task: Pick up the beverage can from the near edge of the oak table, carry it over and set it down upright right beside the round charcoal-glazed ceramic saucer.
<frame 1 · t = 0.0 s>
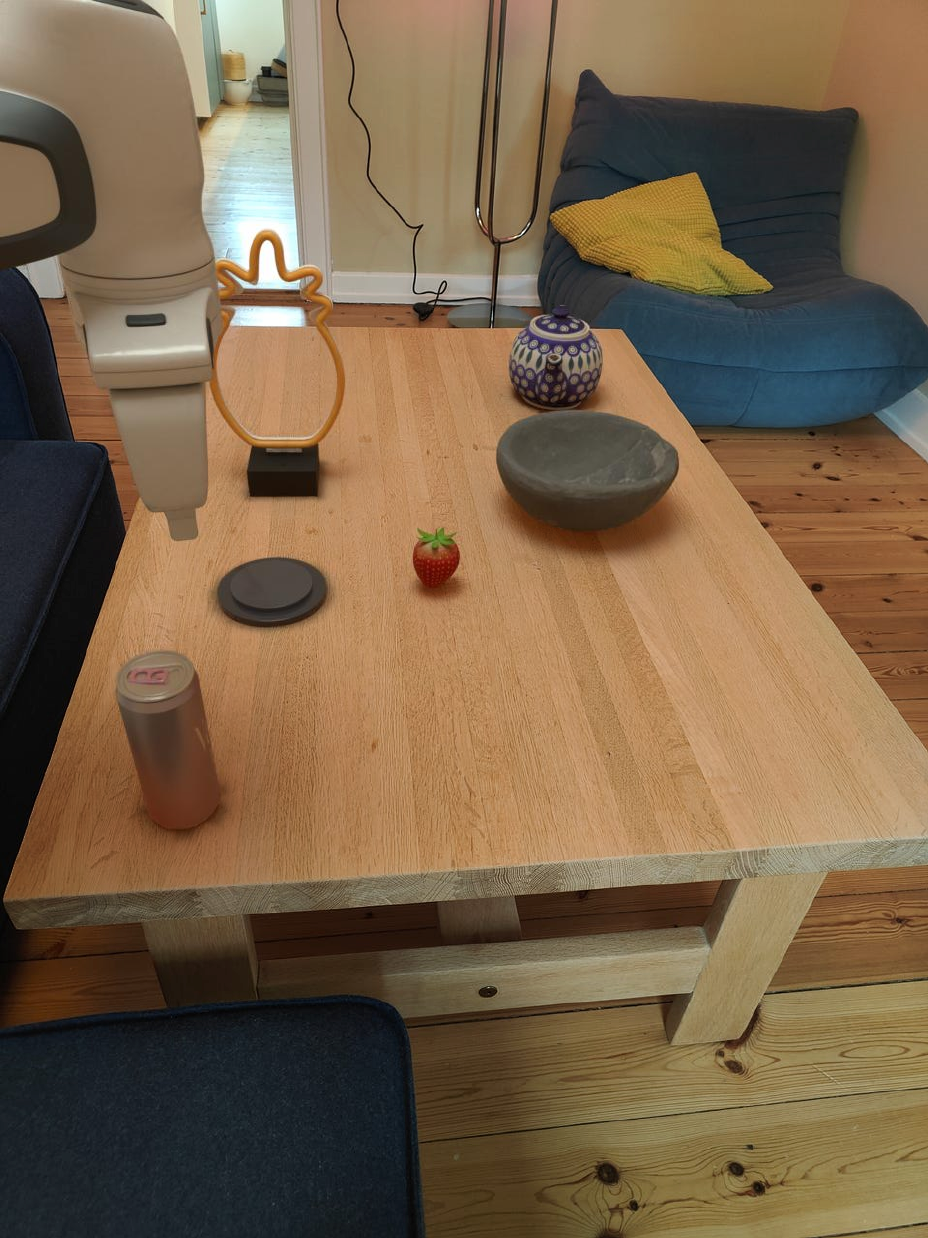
hand: (181, 499, 61), 26 cm above the table, tool pointing down, fingers open, 8 cm apart
lamp: (285, 480, 116), on the table
saucer: (272, 593, 96), on the table
fruit: (434, 588, 99), on the table
beverage can: (185, 806, 73), on the table
bowl: (576, 512, 114), on the table
teapot: (551, 398, 141), on the table
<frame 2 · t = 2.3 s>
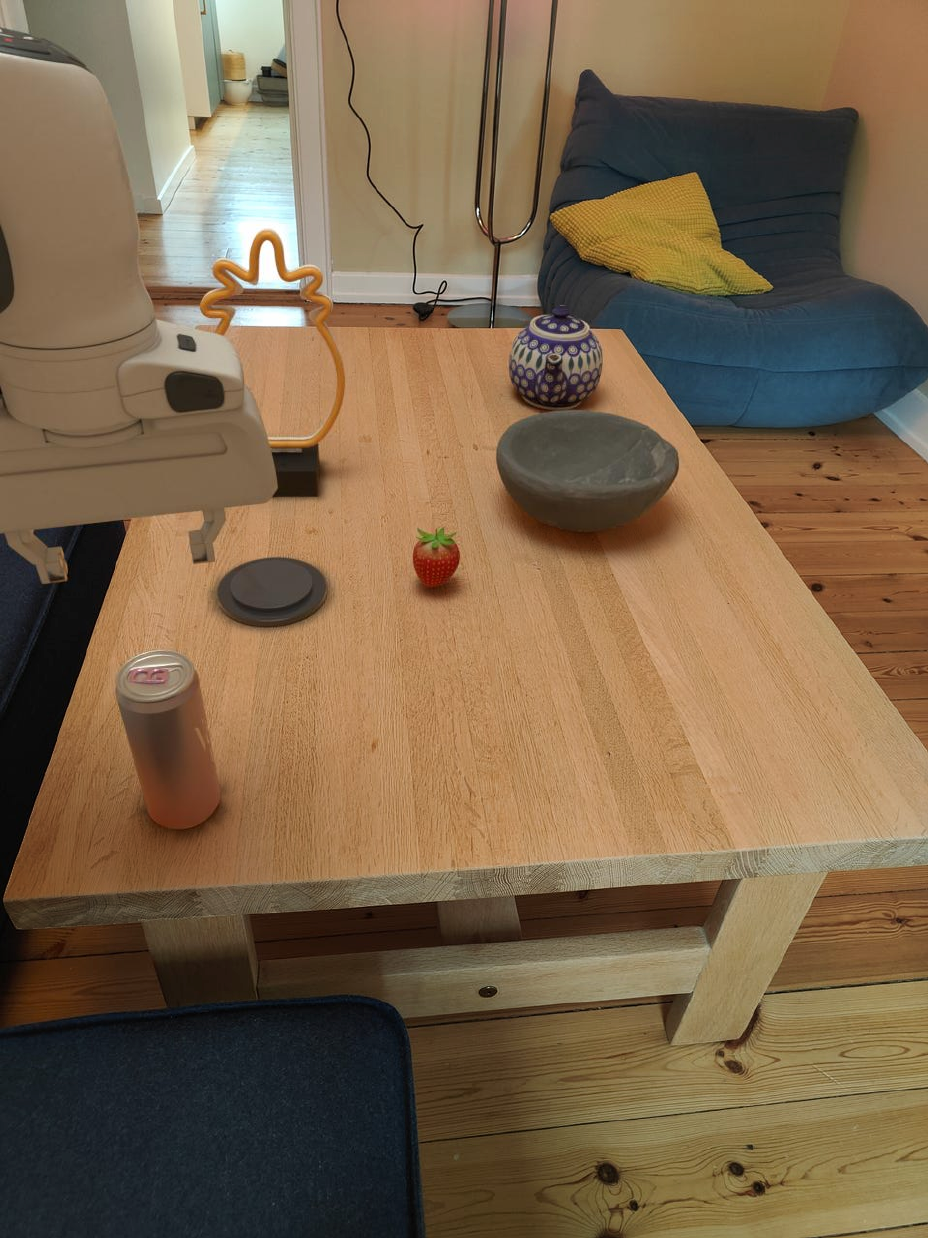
hand: (131, 567, 57), 25 cm above the table, tool pointing down, fingers open, 8 cm apart
nothing on the table moved.
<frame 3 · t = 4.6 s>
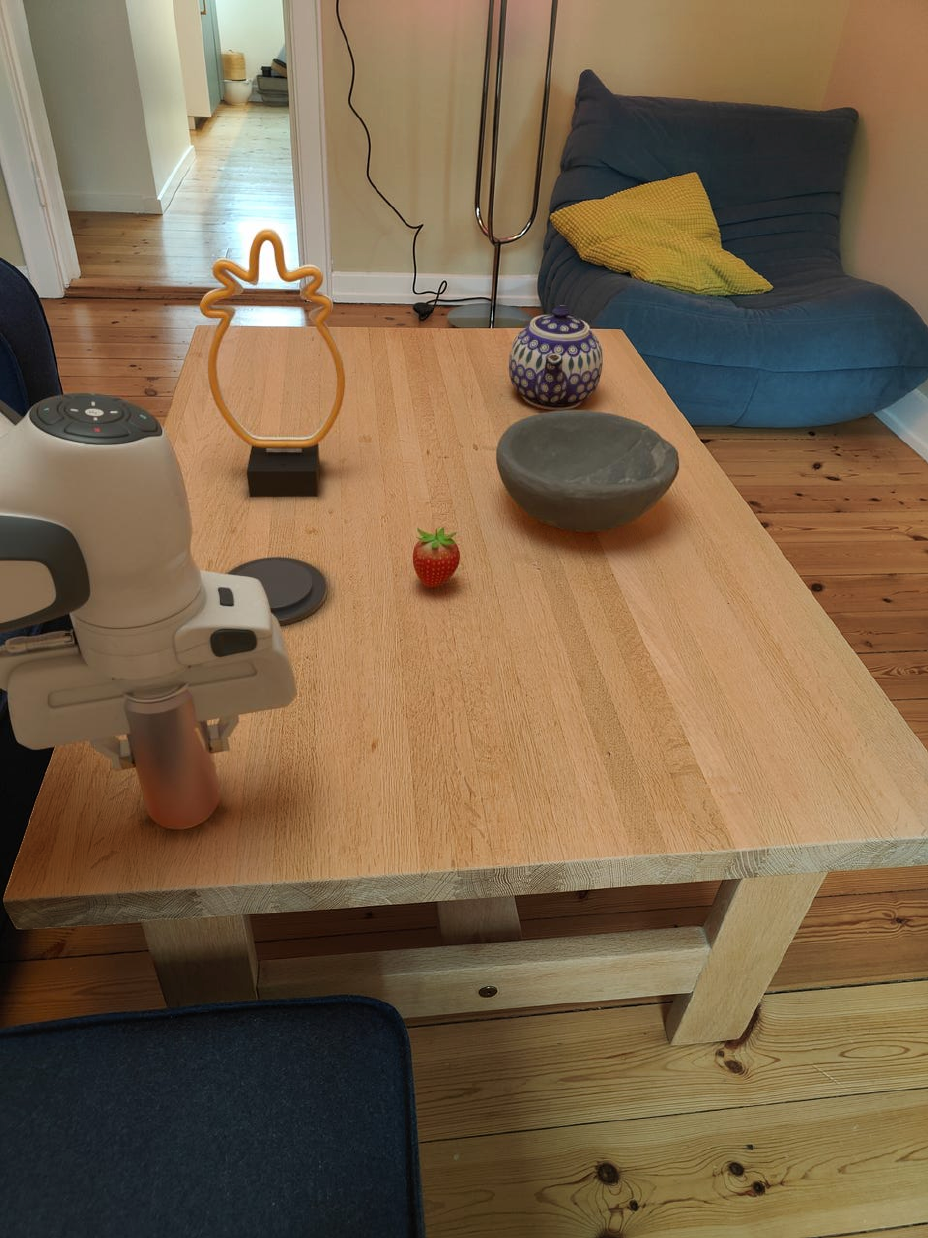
hand: (174, 755, 69), 6 cm above the table, tool pointing down, fingers closed on beverage can, 6 cm apart
beverage can: (185, 806, 73), on the table, touching gripper
everything else where it was.
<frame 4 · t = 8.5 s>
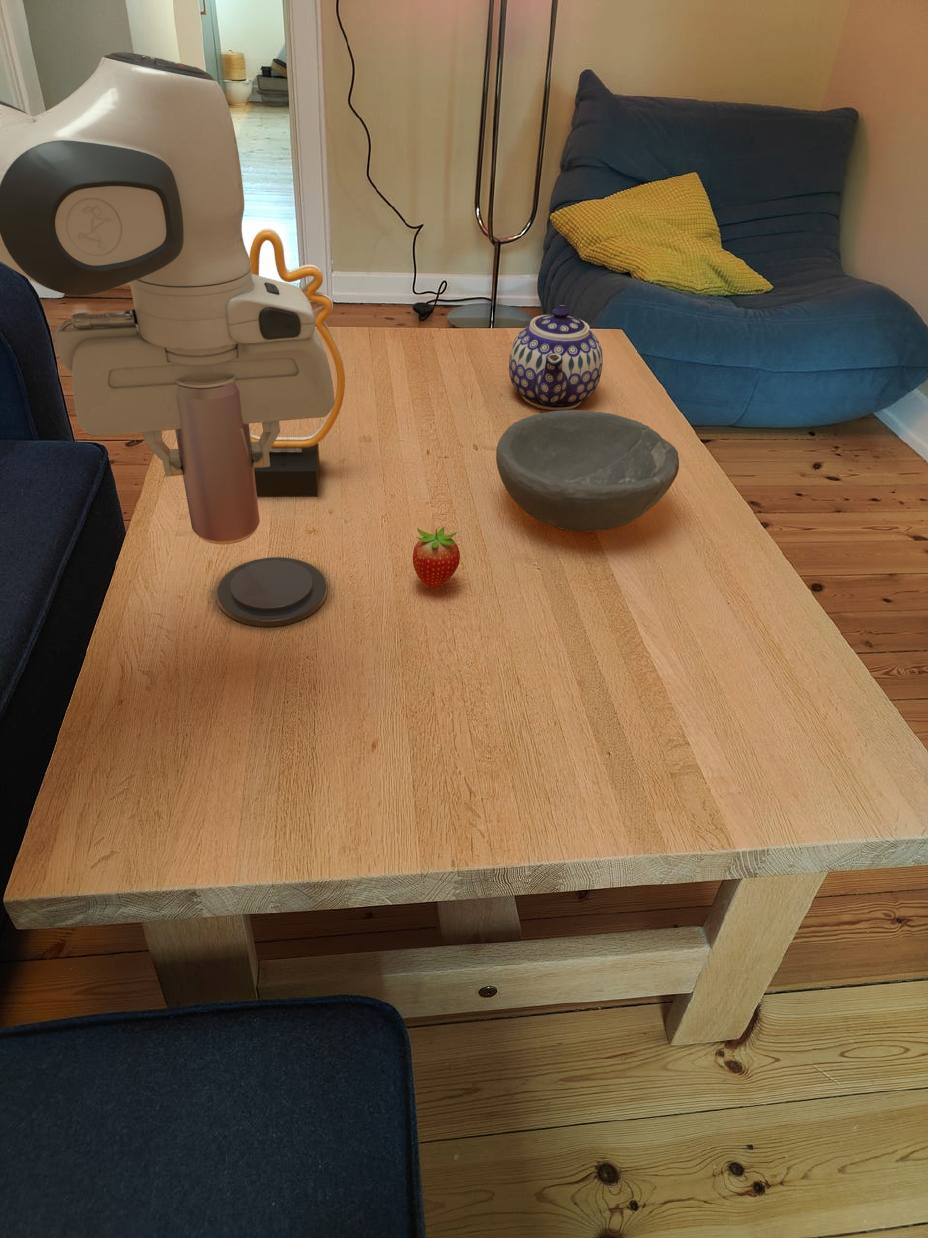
hand: (218, 468, 74), 22 cm above the table, tool pointing down, fingers closed on beverage can, 6 cm apart
beverage can: (227, 530, 78), point 15 cm above the table, touching gripper
everything else where it was.
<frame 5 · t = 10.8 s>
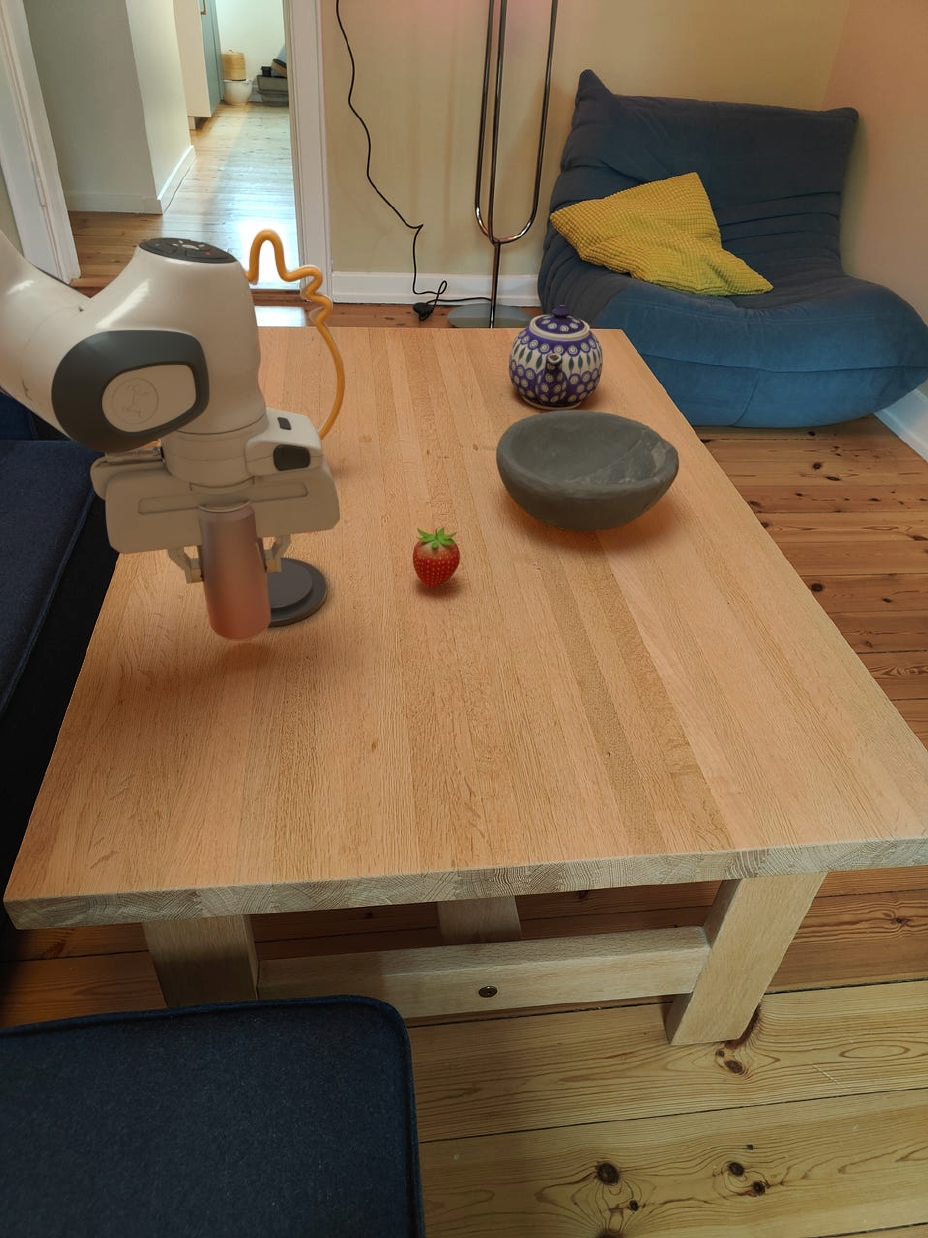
hand: (234, 574, 81), 10 cm above the table, tool pointing down, fingers closed on beverage can, 6 cm apart
beverage can: (241, 626, 85), point 4 cm above the table, touching gripper
everything else where it was.
when the fingers open (6 cm above the table, at t = 12.3 s): beverage can stays where it is, on the table.
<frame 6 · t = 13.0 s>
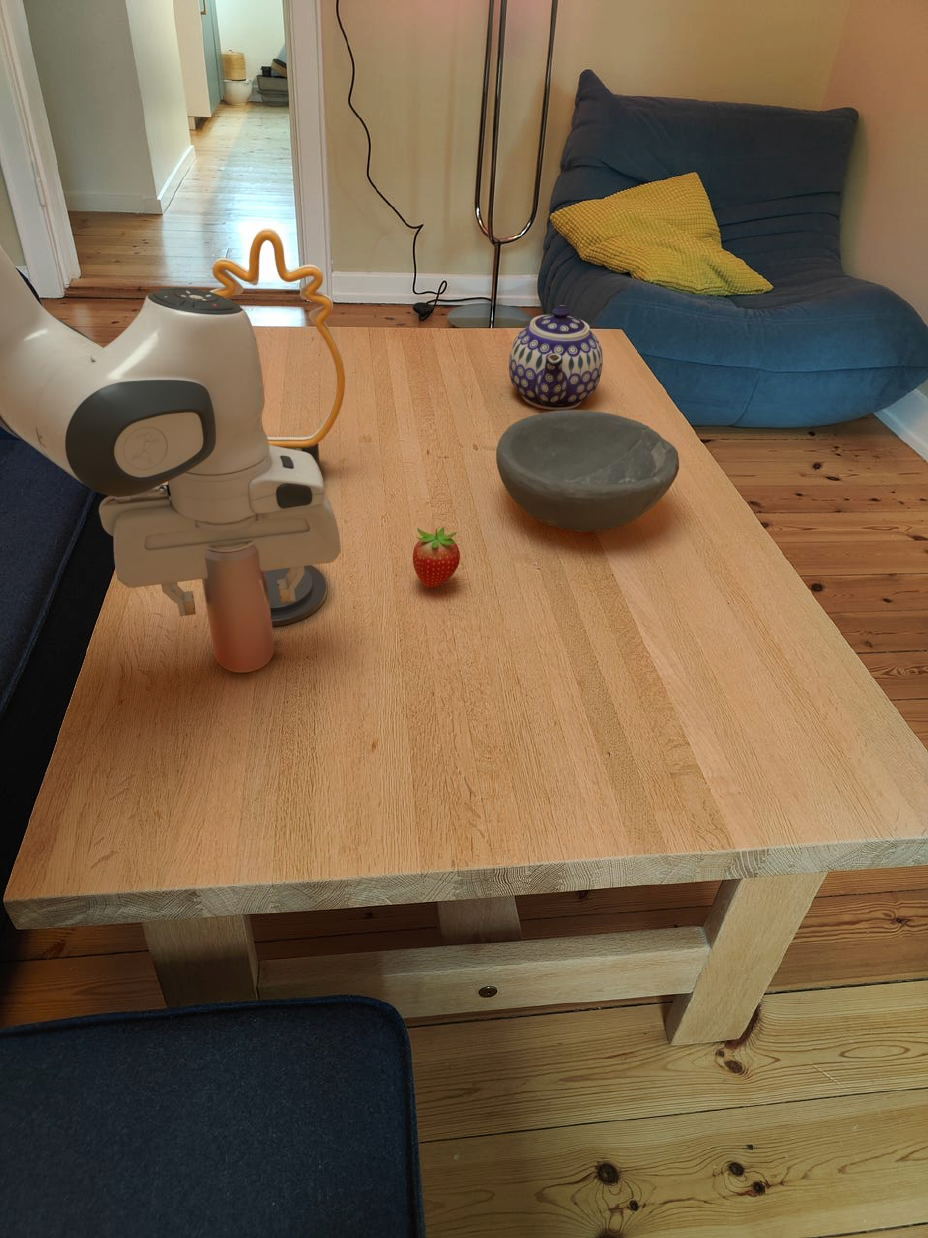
hand: (238, 605, 84), 7 cm above the table, tool pointing down, fingers open, 8 cm apart
beverage can: (245, 657, 88), on the table
everything else where it was.
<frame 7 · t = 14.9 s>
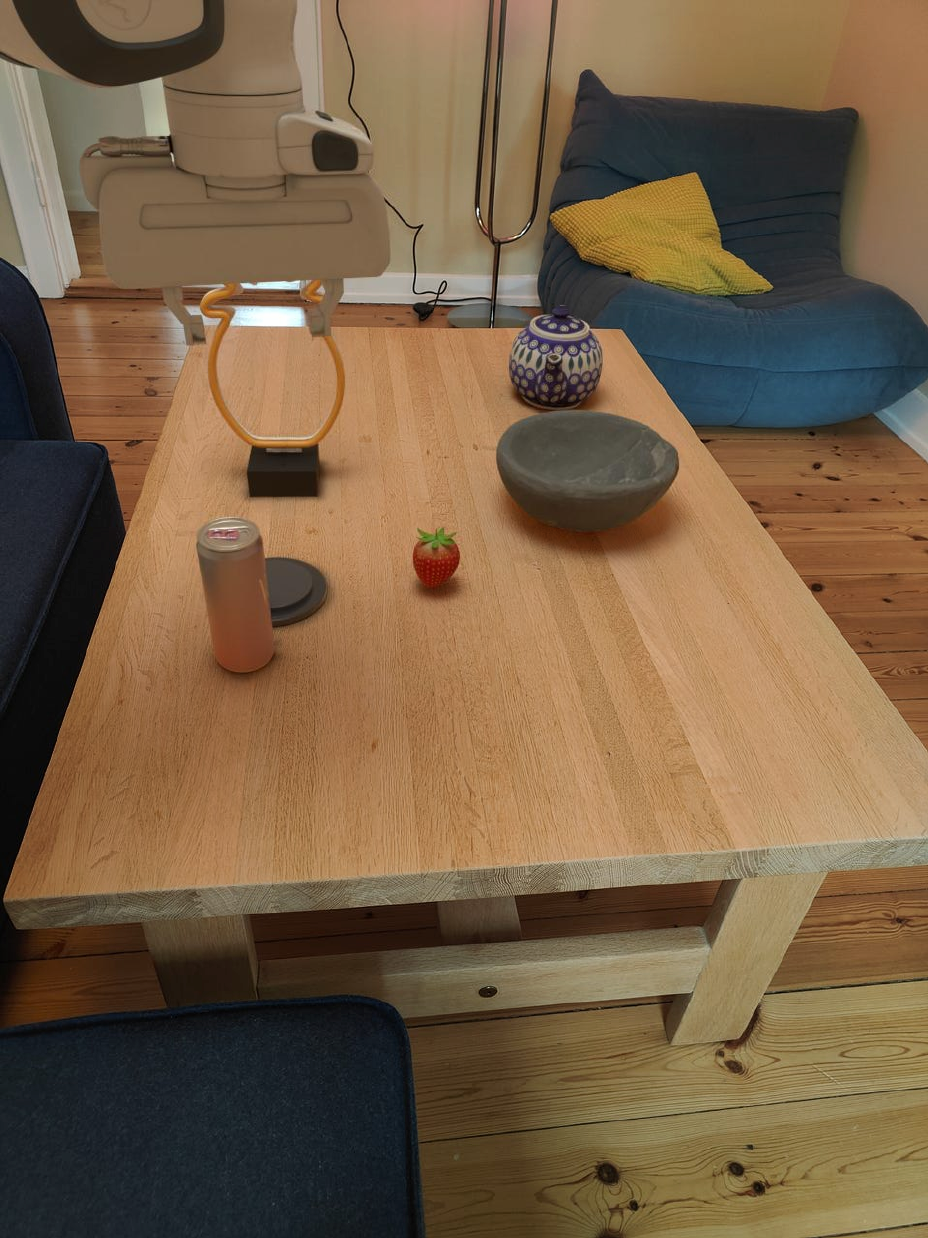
hand: (259, 338, 66), 34 cm above the table, tool pointing down, fingers open, 8 cm apart
nothing on the table moved.
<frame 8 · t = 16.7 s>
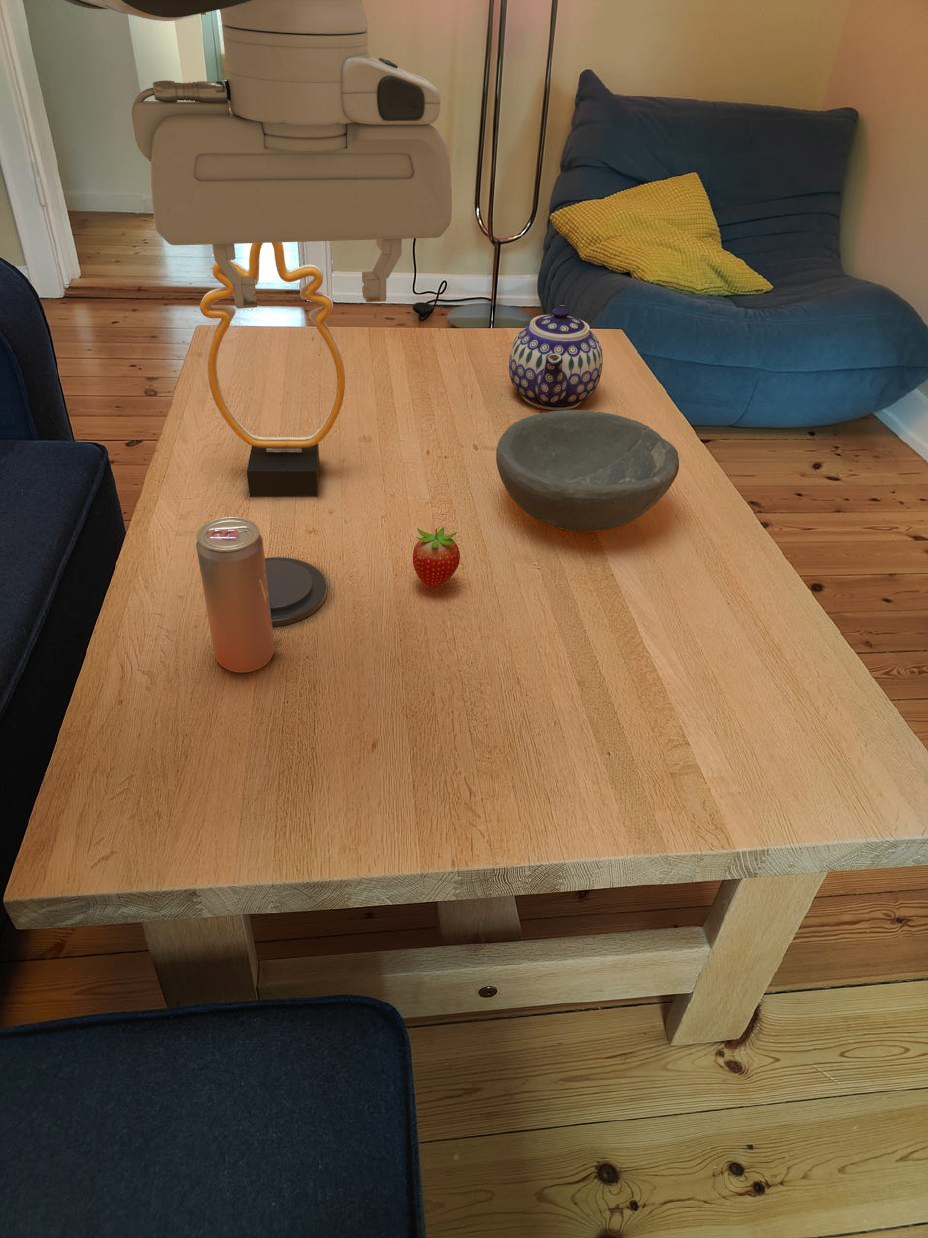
hand: (311, 302, 63), 37 cm above the table, tool pointing down, fingers open, 8 cm apart
nothing on the table moved.
at the end: beverage can 10.8 cm from the saucer (horizontally); beverage can tilted 0°; the gripper is holding nothing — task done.
